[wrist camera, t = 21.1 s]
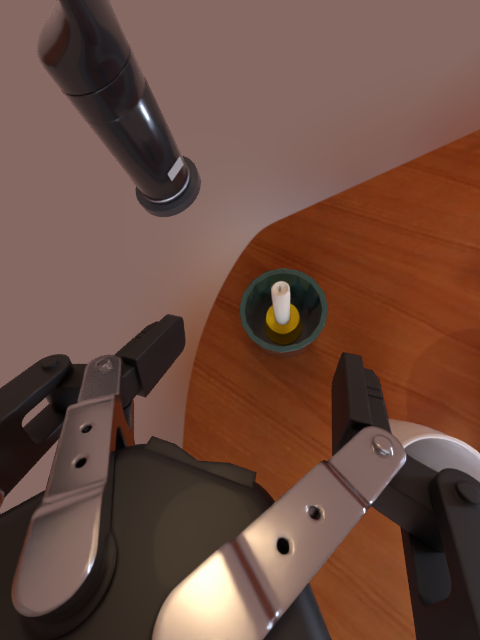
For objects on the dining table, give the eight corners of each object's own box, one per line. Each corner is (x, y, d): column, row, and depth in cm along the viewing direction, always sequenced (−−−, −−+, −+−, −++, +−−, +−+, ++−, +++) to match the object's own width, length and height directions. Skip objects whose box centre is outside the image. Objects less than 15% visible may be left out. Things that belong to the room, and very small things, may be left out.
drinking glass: (387, 477, 28) (492, 582, 14) (330, 448, 30) (370, 513, 16) (406, 422, 29) (523, 466, 15) (349, 396, 31) (404, 413, 16)
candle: (257, 321, 35) (235, 278, 20) (288, 301, 34) (290, 243, 19) (277, 352, 33) (269, 332, 18) (310, 332, 33) (329, 295, 18)
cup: (239, 316, 36) (225, 297, 27) (292, 283, 36) (294, 253, 27) (273, 370, 33) (268, 368, 25) (330, 335, 33) (346, 320, 24)
